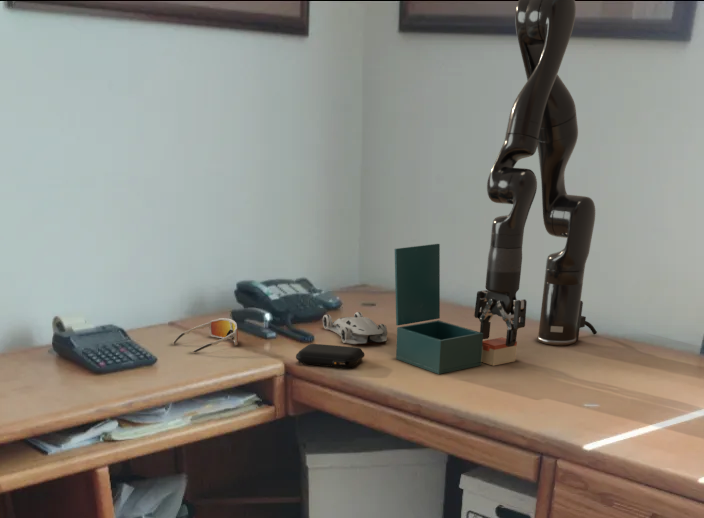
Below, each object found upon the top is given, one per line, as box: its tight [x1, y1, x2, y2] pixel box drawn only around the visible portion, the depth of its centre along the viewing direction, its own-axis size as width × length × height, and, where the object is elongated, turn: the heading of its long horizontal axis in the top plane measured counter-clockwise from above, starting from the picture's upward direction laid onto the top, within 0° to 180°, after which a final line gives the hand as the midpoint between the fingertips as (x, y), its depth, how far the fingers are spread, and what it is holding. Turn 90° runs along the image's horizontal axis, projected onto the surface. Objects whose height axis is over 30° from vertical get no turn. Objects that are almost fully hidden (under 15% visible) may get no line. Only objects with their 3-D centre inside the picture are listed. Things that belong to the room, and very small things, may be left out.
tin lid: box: [394, 243, 441, 326], centre depth 217 cm, size 16×13×5 cm
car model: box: [322, 311, 388, 345], centre depth 238 cm, size 11×24×5 cm, turn 21°
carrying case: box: [295, 343, 366, 369], centre depth 217 cm, size 11×3×15 cm
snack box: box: [481, 337, 518, 367], centre depth 218 cm, size 8×5×4 cm, turn 125°
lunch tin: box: [395, 319, 484, 375], centre depth 216 cm, size 16×13×7 cm
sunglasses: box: [172, 317, 239, 354], centre depth 231 cm, size 14×15×5 cm
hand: (497, 342), depth 217 cm, fingers open, 8 cm apart
